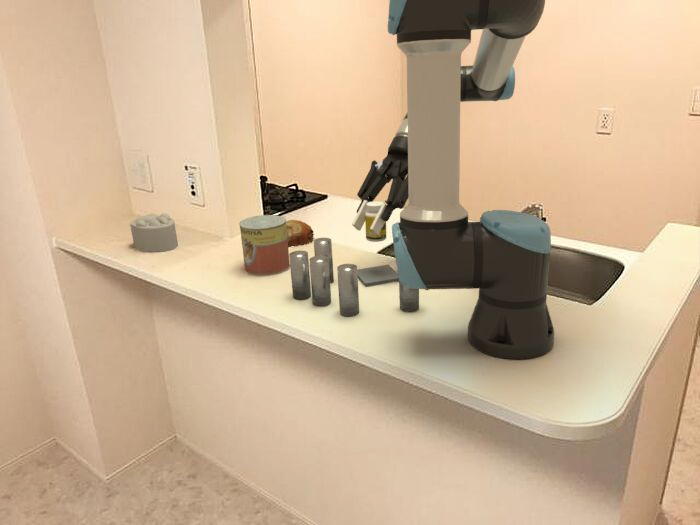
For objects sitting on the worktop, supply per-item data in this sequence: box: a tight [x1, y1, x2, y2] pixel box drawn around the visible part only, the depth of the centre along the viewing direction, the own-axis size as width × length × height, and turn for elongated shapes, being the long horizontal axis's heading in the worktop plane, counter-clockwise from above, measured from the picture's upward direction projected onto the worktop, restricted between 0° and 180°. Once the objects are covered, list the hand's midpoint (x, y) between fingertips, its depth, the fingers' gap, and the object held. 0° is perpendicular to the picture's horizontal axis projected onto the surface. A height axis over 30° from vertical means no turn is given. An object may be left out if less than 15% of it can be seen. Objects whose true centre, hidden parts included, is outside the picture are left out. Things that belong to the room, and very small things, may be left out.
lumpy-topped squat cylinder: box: [129, 213, 179, 254], centre depth 168 cm, size 10×13×9 cm
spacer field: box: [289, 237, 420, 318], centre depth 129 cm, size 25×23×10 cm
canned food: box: [238, 214, 291, 277], centre depth 147 cm, size 11×11×12 cm
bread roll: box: [286, 219, 315, 248], centre depth 167 cm, size 10×10×8 cm
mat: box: [357, 264, 399, 288], centre depth 140 cm, size 9×9×1 cm
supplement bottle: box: [364, 200, 387, 243], centre depth 136 cm, size 5×5×8 cm
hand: (364, 229), depth 134 cm, fingers closed on supplement bottle, 5 cm apart
